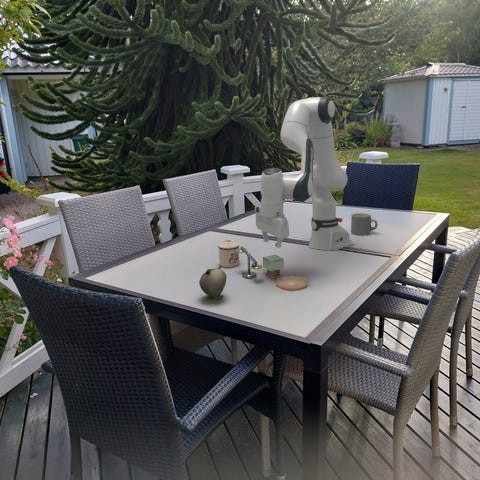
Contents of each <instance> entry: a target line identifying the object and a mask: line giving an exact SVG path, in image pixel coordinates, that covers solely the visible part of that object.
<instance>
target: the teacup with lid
mask: <svg viewBox="0 0 480 480" xmlns="http://www.w3.org/2000/svg"><path fill="white" fill-rule="evenodd" d="M237 249H240V245H239V243H238V242H235V241H233V240H231V238H226V239H225V241H223V242H220V243H219V244H218V258H219V259H218V260H219V267H220V266H221V268H235V267H236V266H238V265H239V264H240V255H239V254H240V253H238V252H236V250H237Z"/></svg>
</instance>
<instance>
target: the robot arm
mask: <svg viewBox="0 0 480 480" xmlns="http://www.w3.org/2000/svg"><path fill="white" fill-rule="evenodd" d="M335 114H336V104H335V102H334V100H333V98H331V97H329V96H321V97H318V96H317V97H316V96H315V97H307V98H302V99H298V100H295V99H294V100H292V101H291V102H289V103H288V105H286V108H285V115H284V118H283V121H282V125H281V130H280V139H281V142H282V143H283V145H284V146H286V148H288V149H289V150H292V151H293V152H295V153H297V154H300V155H301V158H300V159H301V160H300V161H301V162H300V173H299V174H298V175H297V174H296V175H293V174H292V175H291V174H290V175H289V174H284V173H283V172H282V169H281V168H279V167H270V168H266V169H264V170H262V173H261V178H260V195H261V200H260V205H257V206H255V207H254V212H255V226H256V229H258V230H260V231H261V233H262V238H263V242H265V243H267V242H269V241H270V237H269V235H271V236H273V237H275V238H276V242H275V247H276V248H277V249H279V248H281V247H282V243H283V240H284V239H288V238H289V236H290V224H289V220H288V218H287V216H286V215H285V214H284V200H289V201H290V200H292V201H297V202H302V203H303V202H306V201H308V200H309V199H310V198H311V203H312V205H311V206H312V209H311V210H312V216H311V221H310V222H311V234H310V239H309V243H308V246H309V248H312V249H316V250H322V251H323V250H325V251H338V250H341V249H340V248H342V249H344V248H343V247H345V248H347V246H348V247H350V245H351V246H353V245H355V242H354V240H352V239H350V233H349V231H347V229H345V228H343V227H342V226H341V225H340V224H339V223H342V222H343V218H340V217H336V215H337V202H336V200H335V198H334V197H333V195H332V192H339V191H342V190H343V189H344V188H345V187H346V185H347V184H348V175H347V173H346V172H345V170H344V169H343V168H342V166H341V165H340V162H339V159H338V157H337V154H336V149H335V139H334V130H333V123H332V120H333V118H334V117H335ZM314 161H315V163H316V164H314ZM268 234H269V235H268Z"/></svg>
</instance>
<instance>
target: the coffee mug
mask: <svg viewBox="0 0 480 480" xmlns="http://www.w3.org/2000/svg"><path fill="white" fill-rule="evenodd" d="M350 220H351V222H350V234H351V235H353V236H358V237H366V236H370V235H371V231H374V230H377V228H378V220H377V219H375V218H372V215H371V214H369V213H366V212H363V213H362V212H356V213H355V212H354V213H352V214H351V219H350ZM372 222H373V223H374V226H372ZM369 234H370V235H369ZM365 235H366V236H365Z"/></svg>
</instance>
